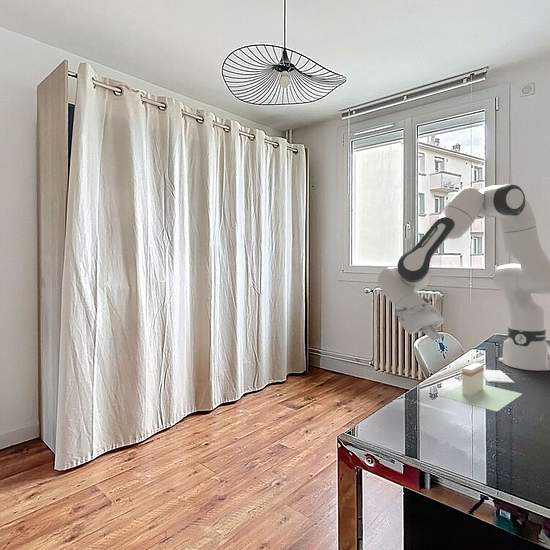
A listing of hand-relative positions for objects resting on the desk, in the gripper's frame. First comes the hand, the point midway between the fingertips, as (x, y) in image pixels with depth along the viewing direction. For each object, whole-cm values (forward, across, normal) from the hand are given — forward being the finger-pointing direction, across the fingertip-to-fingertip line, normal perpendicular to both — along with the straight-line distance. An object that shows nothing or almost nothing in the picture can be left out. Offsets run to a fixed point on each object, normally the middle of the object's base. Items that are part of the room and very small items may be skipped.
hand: (437, 338), depth 131 cm
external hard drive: (+19, +20, +4) cm, 28 cm away
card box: (+19, 0, +2) cm, 19 cm away
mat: (+21, -1, 0) cm, 21 cm away
